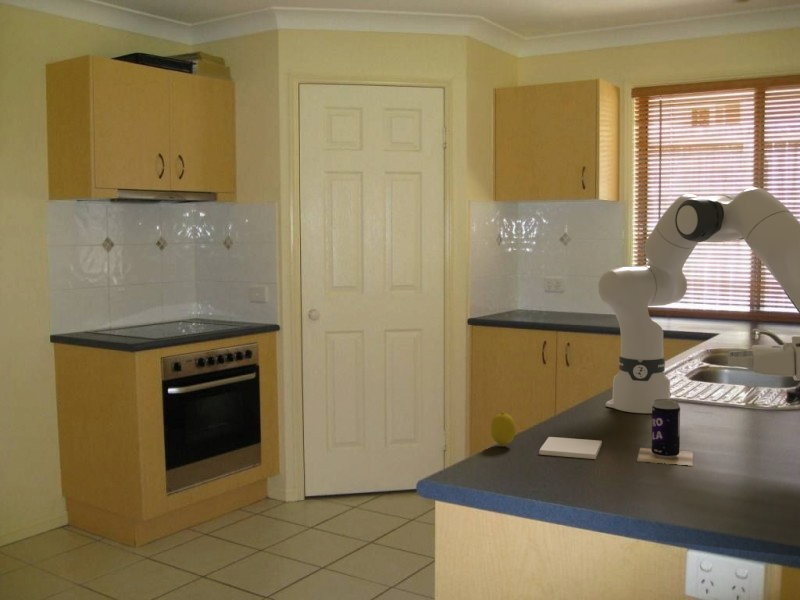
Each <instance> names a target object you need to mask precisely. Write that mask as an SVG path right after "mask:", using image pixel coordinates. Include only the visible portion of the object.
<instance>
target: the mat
mask: <svg viewBox="0 0 800 600" xmlns="http://www.w3.org/2000/svg"><path fill="white" fill-rule="evenodd" d="M602 443H603V441H602V440H597V439H595V440H594V439H585V438H584V439H581V438H571V437H569V438H568V437H557V436H556V437H555V436H548V437H547V439H546V440H545V442H544V443H543V444H542V445H541V447H540V449H539V451H538V453H539V455H542V456H543V455H544V456H555V457H568V458H579V459H580V458H581V459H589V460H590V459H591V460H592V459H593V460H596V459H597V457H598V454H599V452H600V450H601V448H602Z"/></svg>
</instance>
